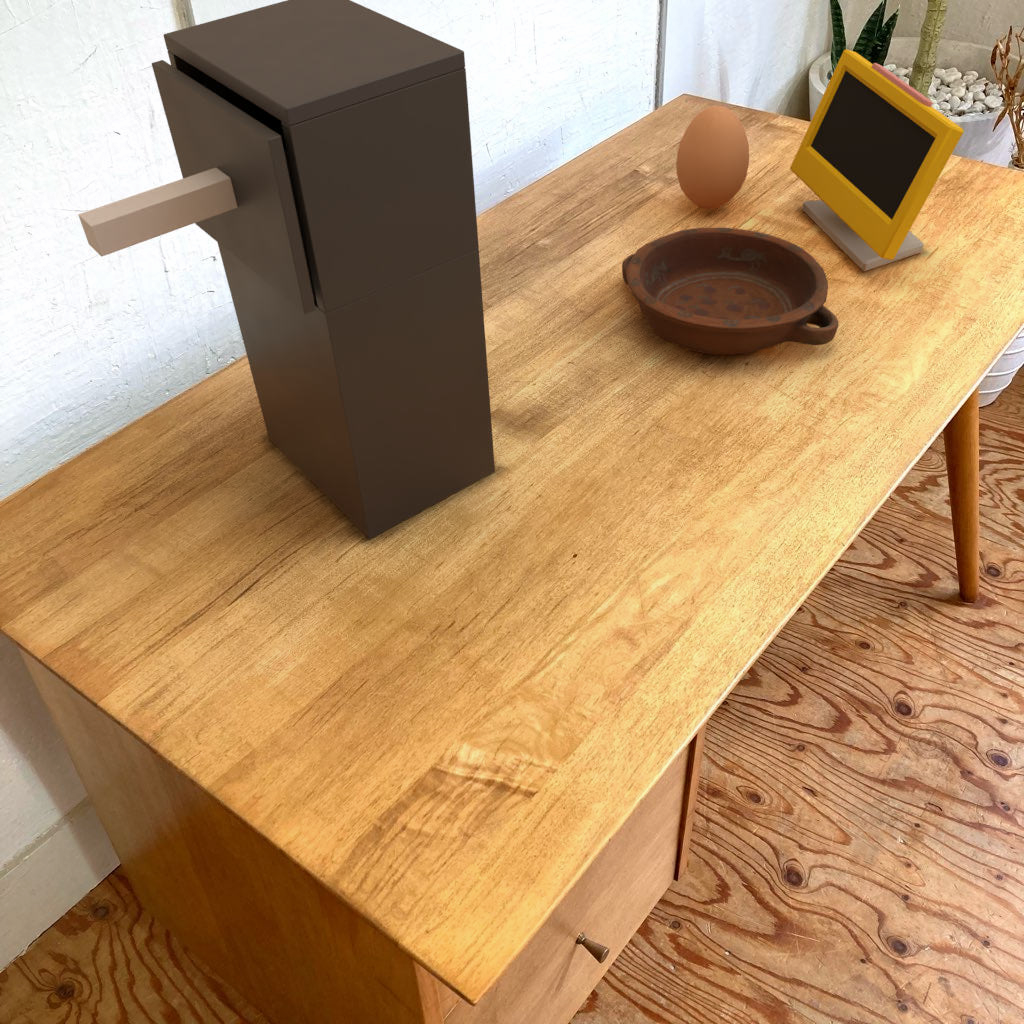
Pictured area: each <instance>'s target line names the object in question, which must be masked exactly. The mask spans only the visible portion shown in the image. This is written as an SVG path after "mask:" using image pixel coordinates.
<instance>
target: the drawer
mask: <svg viewBox="0 0 1024 1024" xmlns="http://www.w3.org/2000/svg"><path fill="white" fill-rule="evenodd" d="M151 67H152V71H153V74H154V78H155V81H156V85H157V89H158V93H159V97H160V100H161V103H162V107H163V110H164V114H165V118H166V122H167V126H168V130H169V133H170V137H171V141H172V143H173V147H174V151H175V155H176V158H177V162H178V165H179V169H180V172H181V173H180V174H181V176H182V178H181V179H177V180H175V181H173V182H169V183H166V184H163V185H160V186H158V187H154V188H152V189H149V190H145V191H142V192H140V193H137V194H134V195H131V196H128V197H125V198H122V199H119V200H116V201H114V202H113V201H112V202H111V203H110V202H109V203H107V204H105V205H102V206H98V207H96V208H93V209H89V210H86V211H84V212H82V213H81V212H80V213H78V214H77V215H78V219H79V221H80V224H81V226H82V229H83V232H84V235H85V238H86V241H87V243H88V245H89V247H91V248H92V249H93V250H94V251H95V252H96V253H97V254H98V255H99V256H100V257H105V256H107V255H110V254H114V253H116V252H119V251H122V250H124V249H127V248H130V247H132V246H135V245H138V244H141V243H143V242H147V241H149V240H152V239H154V238H157V237H161V236H163V235H166V234H168V233H171V232H174V231H176V230H180V229H182V228H186V227H187V226H190V225H193V224H195V225H196V226H197V227H198V228H199V229H201V230H202V231H203V232H204V233H206V235H208V236H209V237H210V238H212V239H213V240H214V241H216V243H217V242H218V243H219V244H220V245H222V246H223V247H224V248H225V249H226V250H228V251H229V252H230V253H231V254H232V255H234V256H235V257H236V258H237V259H239V260H240V261H241V262H242V263H243V264H245V265H246V266H247V267H248V268H249V269H251V270H252V271H253V272H254V273H255V274H257V275H258V276H259V277H260V278H262V279H263V280H264V281H265V282H266V283H268V284H269V285H270V286H271V287H272V288H274V289H275V290H276V291H277V292H279V293H280V294H281V295H282V296H283V297H285V298H286V299H287V300H288V301H289V302H291V303H292V304H293V305H294V306H295V307H297V308H298V309H299V310H300V311H302V312H303V313H304V314H307V313H310V312H312V311H314V310H316V308H315V303H314V300H316V295H315V290H314V285H313V280H312V275H311V270H310V265H309V260H308V255H307V250H306V244H305V239H304V234H303V229H302V224H301V219H300V214H299V209H298V204H297V199H296V194H295V189H294V184H293V179H292V174H291V169H290V164H289V159H288V154H287V149H286V144H285V139H284V134H283V129H282V124H281V122H282V121H281V120H279V119H278V118H276V117H274V116H273V115H271V114H270V113H268V112H266V111H265V110H263V109H261V108H260V107H258V106H257V105H255V104H253V103H252V102H250V101H249V100H247V99H245V98H244V97H242V96H241V95H239V94H237V93H236V92H234V91H233V90H231V89H229V88H228V87H226V86H225V85H223V84H221V83H220V82H218V81H217V80H216V81H213V82H209V83H206V84H203V85H201V84H199V83H198V82H196V81H195V80H193V79H192V78H190V77H189V76H187V75H185V74H184V73H182V72H181V71H179V70H178V69H176V68H174V67H173V66H171V63H169V62H167V61H165V60H163V59H161V60H158V61H154V62H151ZM218 243H217V244H218Z"/></svg>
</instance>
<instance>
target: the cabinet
mask: <svg viewBox="0 0 1024 1024" xmlns="http://www.w3.org/2000/svg"><path fill="white" fill-rule="evenodd" d="M163 39H164V43H165V47H166V51H167V55H168V59H169V62H170V63H169V64H170V65H171V66H173V67H174V68H176V69H178V70H179V71H181V72H182V73H184V74H185V75H187V76H189V77H190V78H192V79H193V80H195V81H196V82H198V83H199V84H201V85H203V84H206V83H209V82H213V81H216V80H217V81H218V82H220V83H221V84H223V85H225V86H226V87H228V88H229V89H231V90H233V91H234V92H236V93H237V94H239V95H241V96H242V97H244V98H245V99H247V100H249V101H250V102H252V103H253V104H255V105H257V106H258V107H260V108H261V109H263V110H265V111H266V112H268V113H270V114H271V115H273V116H274V117H276V118H278V119H279V120H281V121H282V122H281V124H282V129H283V134H284V139H285V144H286V149H287V154H288V159H289V164H290V169H291V174H292V179H293V184H294V189H295V194H296V199H297V204H298V209H299V214H300V219H301V224H302V229H303V234H304V239H305V244H306V250H307V255H308V260H309V265H310V270H311V275H312V280H313V285H314V290H315V295H316V300H314V303H315V308H316V310H314V311H312V312H310V313H307V314H304V313H303V312H302V311H300V310H299V309H298V308H297V307H295V306H294V305H293V304H292V303H291V302H289V301H288V300H287V299H286V298H285V297H283V296H282V295H281V294H280V293H279V292H277V291H276V290H275V289H274V288H272V287H271V286H270V285H269V284H268V283H266V282H265V281H264V280H263V279H262V278H260V277H259V276H258V275H257V274H255V273H254V272H253V271H252V270H251V269H249V268H248V267H247V266H246V265H245V264H243V263H242V262H241V261H240V260H239V259H237V258H236V257H235V256H234V255H232V254H231V253H230V252H229V251H228V250H226V249H225V248H224V247H223V246H222V245H220V244H219V243H218V242H217V241H216V243H217V247H218V249H219V254H220V257H221V261H222V266H223V269H224V273H225V277H226V281H227V284H228V288H229V292H230V296H231V300H232V304H233V308H234V311H235V314H236V319H237V322H238V327H239V330H240V334H241V338H242V342H243V346H244V350H245V353H246V357H247V360H248V361H247V362H248V364H249V368H250V372H251V376H252V380H253V384H254V387H255V391H256V395H257V399H258V403H259V407H260V412H261V414H262V417H263V422H264V427H265V429H266V434H267V437H268V440H270V441H271V442H272V443H273V444H274V445H275V446H276V448H278V449H279V450H280V451H281V452H282V453H283V454H284V455H285V456H286V457H287V458H288V459H289V461H291V462H292V464H294V465H295V467H297V468H298V470H299V471H301V473H302V474H304V476H305V477H306V478H307V479H308V480H309V481H310V482H312V484H314V485H315V487H316V488H318V490H320V492H322V494H323V495H324V496H325V497H326V498H327V499H328V500H330V502H331V503H333V505H334V506H336V508H337V509H338V510H339V511H340V512H341V513H342V514H343V515H344V516H345V517H346V518H347V519H348V520H349V521H350V522H351V523H352V524H353V525H354V526H355V527H356V528H357V529H358V530H359V531H360V532H361V533H362V534H363V535H364V536H365V537H366V538H367V539H368V540H372V539H373V538H375V537H377V536H379V535H380V534H383V533H384V532H386V531H388V530H390V529H392V528H394V527H396V526H397V525H399V524H401V523H402V522H404V521H406V520H408V519H410V518H412V517H415V515H417V514H419V513H421V512H423V511H425V510H427V509H429V508H431V507H433V506H434V505H435V504H438V503H439V502H442V501H443V500H445V499H447V498H448V497H449V498H450V497H451V496H453V495H454V494H457V493H458V492H460V491H461V490H464V489H465V488H467V487H469V486H471V485H473V484H475V483H476V482H478V481H480V480H482V479H484V478H485V477H488V476H489V475H491V474H493V473H495V472H496V466H495V465H496V464H495V454H494V453H495V452H494V437H493V426H492V411H491V398H490V396H491V395H490V385H489V384H490V383H489V371H488V357H487V346H486V345H487V342H486V341H487V340H486V329H485V316H484V302H483V301H484V300H483V288H482V273H481V260H480V259H481V258H480V249H479V248H480V247H479V246H480V245H479V232H478V219H477V207H476V191H475V178H474V177H475V176H474V166H473V165H474V163H473V153H472V152H473V150H472V139H471V138H472V137H471V122H470V110H469V96H468V83H467V82H468V81H467V71H466V69H467V68H466V59H465V58H466V56H465V51H464V50H462V49H460V48H458V47H456V46H453V45H451V44H449V43H447V42H445V41H442V40H440V39H438V38H436V37H433V36H432V35H429V34H427V33H425V32H422V31H420V30H417V29H415V28H413V27H411V26H409V25H406V24H404V23H402V22H400V21H398V20H395V19H393V18H391V17H389V16H386V15H384V14H382V13H380V12H378V11H375V10H373V9H370V8H368V7H366V6H364V5H362V4H359V3H357V2H355V1H353V0H284V1H279V2H276V3H272V4H268V5H265V6H261V7H258V8H254V9H250V10H247V11H243V12H239V13H236V14H231V15H228V16H224V17H221V18H218V19H214V20H211V21H207V22H203V23H200V24H199V23H198V24H196V25H192V26H189V27H185V28H181V29H178V30H174V31H170V32H166V33H164V34H163Z"/></svg>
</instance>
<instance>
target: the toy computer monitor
mask: <svg viewBox="0 0 1024 1024" xmlns="http://www.w3.org/2000/svg"><path fill="white" fill-rule="evenodd" d="M933 104H934V102H933V101H932V100H930V99H929V97H926V96H925V95H923V94H922V93H921V92H919V91H918V90H916V89H915V88H914V87H912V86H911V85H910V84H908V83H907V82H905V81H904V80H903V79H901V78H900V77H899V76H896V75H895V74H894V73H893V72H891V71H890V70H889V69H887V68H886V67H884V66H883V65H881V64H879V63H876V62H873V63H872V62H871V61H869V60H868V59H866V58H864V56H862V55H860V53H858V52H856V51H853V50H850V49H847V48H846V49H844V50H843V51H842V53H841V56H840V58H839V60H838V62H837V64H836V67H835V69H834V71H833V73H832V75H831V78H830V80H829V81H828V83H827V86H826V88H825V90H824V93H823V94H822V97H821V99H820V101H819V104H818V106H817V108H816V110H815V112H814V114H813V117H812V118H811V121H810V123H809V125H808V127H807V130H806V132H805V135H804V136H803V138H802V141H801V143H800V145H799V147H798V150H797V151H796V153H795V156H794V158H793V160H792V163H791V164H790V167H789V169H790V171H791V172H792V173H793V174H794V175H795V176H797V178H798V179H800V180H801V181H802V183H803V184H805V186H806V187H807V188H808V189H810V191H811V192H813V193H814V194H815V195H816V196H817V197H818V198H819V200H817V199H815V200H805V201H803V202H802V208H801V210H802V211H803V212H804V213H805V214H806V215H807V216H808V217H809V218H810V219H811V220H812V221H813V222H814V223H815V224H816V226H818V227H819V228H820V229H821V231H823V232H824V233H825V234H826V235H827V236H828V237H829V238H830V239H831V240H832V241H833V243H835V245H837V246H838V247H839V248H840V249H841V250H842V251H843V253H845V255H846V256H847V257H849V259H850V260H851V261H853V263H854V264H855V265H856V266H857V267H859V269H860V270H861V271H862V272H867V271H870V270H873V269H876V268H878V267H882V266H885V265H888V264H890V263H894V262H897V261H900V260H903V259H906V258H908V257H912V256H915V255H918V254H921V253H922V252H923V249H924V242H923V241H922V240H920V238H918V237H917V236H916V235H915V234H914V233H913V232H911V229H912V227H913V225H914V223H915V222H916V220H917V217H918V216H919V214H920V212H921V210H922V209H923V207H924V205H925V203H926V202H927V200H928V197H929V196H930V194H931V193H932V190H933V188H934V187H935V185H936V183H937V182H938V179H939V178H940V176H941V174H942V172H943V171H944V169H945V167H946V165H947V163H948V162H949V159H950V158H951V156H952V154H953V153H954V150H955V149H956V148H957V145H958V143H959V141H960V140H961V138H962V137H963V134H964V129H963V128H962V127H961V126H960V125H958V124H957V123H955V122H954V121H952V120H951V119H950V118H948V117H947V116H945V115H944V114H943V113H941V112H940V111H938V110H937V109H935V108H934V107H933Z"/></svg>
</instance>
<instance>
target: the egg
mask: <svg viewBox="0 0 1024 1024" xmlns="http://www.w3.org/2000/svg"><path fill="white" fill-rule="evenodd" d="M675 165H676V167H675V168H676V176H677V181H678V183H679V186H680V189H681V191H682V192H683V194H684V195H685V197H686V198H687V199H688V200H689V201H690V202H691V203H692V204H694V205H695V206H697V207H699V208H703V209H707V210H709V209H717V208H720V207H723V206H724V205H726V204H728V202H730V201H731V200H732V199H733V198H735V196H736V195H737V194H738V193H739V191H740V190H741V188H742V187H743V185H744V183H745V181H746V179H747V175H748V171H749V170H748V169H749V165H750V145H749V140H748V136H747V133H746V130H745V128H744V126H743V124H742V122H741V120H740V118H739V117H738V115H736V114H735V112H733V111H732V110H730V109H729V108H727V107H725V106H721V105H714V106H710V107H707V108H705V109H703V110H702V111H700V112H698V114H696V116H695V117H693V118H692V120H691V121H690V123H689V124H688V125H687V127H686V129H685V131H684V133H683V135H682V138H681V139H680V141H679V146H678V150H677V154H676V161H675Z"/></svg>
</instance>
